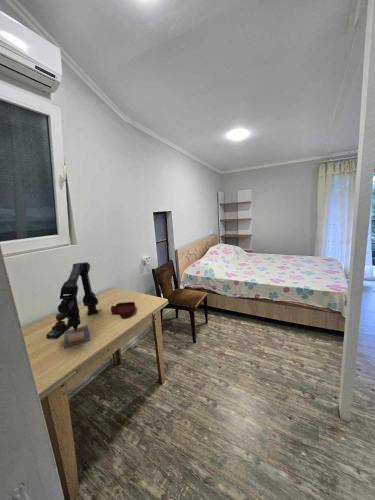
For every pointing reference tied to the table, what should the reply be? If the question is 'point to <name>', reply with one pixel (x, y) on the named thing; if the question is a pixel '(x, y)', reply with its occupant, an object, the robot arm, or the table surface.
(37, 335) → the table surface
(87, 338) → the mat
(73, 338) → the tile
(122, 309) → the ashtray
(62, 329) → the film camera
